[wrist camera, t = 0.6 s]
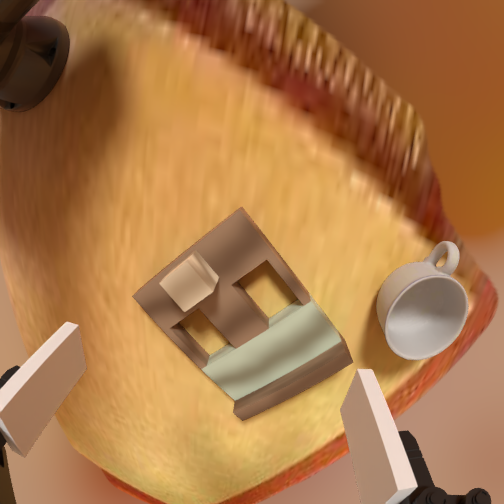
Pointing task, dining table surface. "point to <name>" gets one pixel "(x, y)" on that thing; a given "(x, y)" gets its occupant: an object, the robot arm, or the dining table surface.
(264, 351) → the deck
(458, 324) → the teacup
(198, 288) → the block
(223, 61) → the dining table surface
